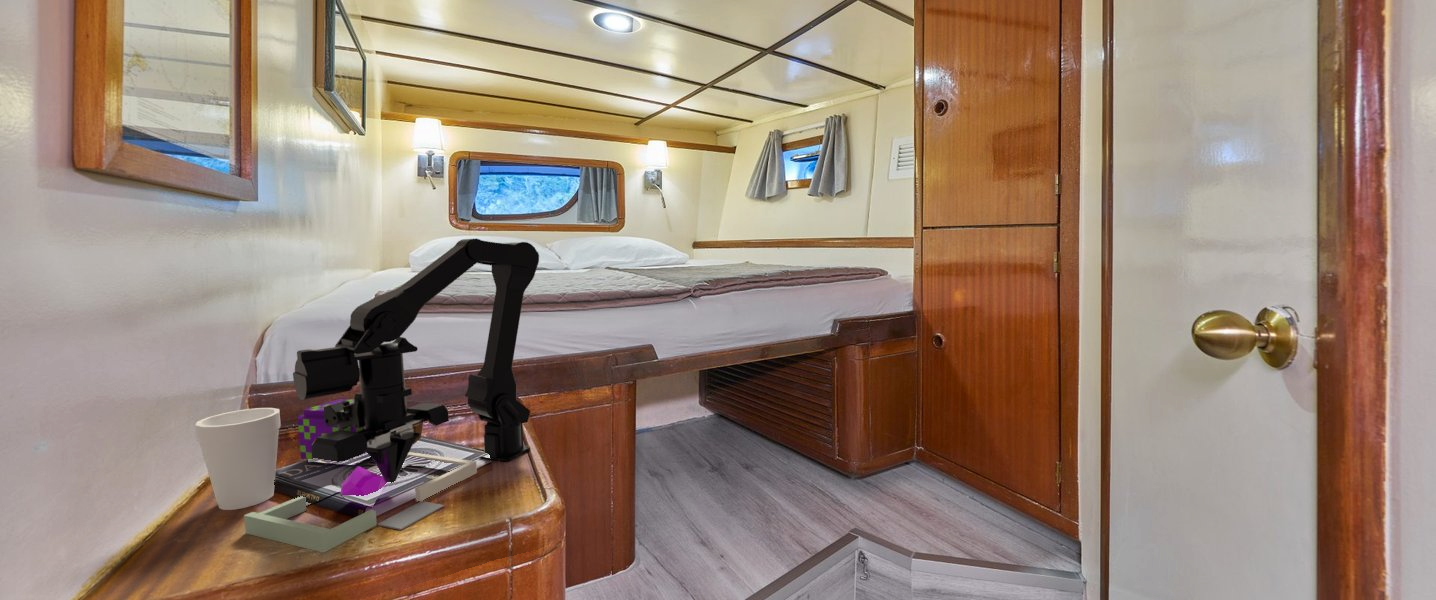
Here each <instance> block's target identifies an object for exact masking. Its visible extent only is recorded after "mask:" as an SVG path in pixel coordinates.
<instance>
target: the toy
mask: <svg viewBox="0 0 1436 600" xmlns="http://www.w3.org/2000/svg"><path fill="white" fill-rule="evenodd" d="M339 402H341V403H342V404H343V405H344V406H348V405H351V404H354V398H353V399H349V398H347V399H346V398H338V399H335V400H332V401H329V402H326V403H322V404H319V405H316V406H312V407H308V408H305V409H303V414H301V415H299V416H298V415H297V416H298V418H297V429H298V443H299V453H300V459H301V460H302V459H303V460H308V459H313V458H312V448H311V446H312V444H313V442H314V440H315V439H316V438H317V437H320V436H323V435H326V434H329V433H332V432H335V431H338V430H340V429H339V426H338V425H335V426H332V427H328V426H327V425H326V423H325V420H324V407H326V406H328V405H331V404H335V403H339ZM423 427H424V422H421V423H419V424H416V425H413V431H414V433H420V437H419V438H417V439H416V440H415V442H414V443H413V445H415V444H416V443H418V441H419V440H420V439H421V438H422V433H423ZM343 430H346V431H353V432H359V431H361V430H364V427H360V428H355V427H353V425H352V426H349V427H347V428H346V429H343ZM381 431H382V430H381ZM376 432H379V431H376ZM365 452H366V451H364V453H365ZM358 456H359V455H358Z"/></svg>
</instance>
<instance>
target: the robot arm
mask: <svg viewBox="0 0 1436 600" xmlns="http://www.w3.org/2000/svg"><path fill="white" fill-rule="evenodd" d="M539 263H540V254H539V251H537V249H536V247H535V246H533V244H531V243H530V242H528V241H515V242H514V241H513V242H503V243H502V242H493V241H486V240H482V239H479V238H466V239H461V240H458V241H457V242H456V243H455V245H454V246H453V247H451V248H450V249H449V250H447V251H446V252H445V253H444V254H442V255H441V256H439V257H438V258H437V259H436V260H434V261H433V262H431V263H430V264H429V265H428V266H426V267H425V268H423V269H422V270H421V271H419V272H417V274H415V275H414V276H413V277H411V278H410V279H409V280H408V281H406V282H405V283H403V284H402V285H400V286H399V287H397V288H396V287H395V288H394V289H392V290H390V291H387V292H385V293H382V294H379V295H377V296H375V297H374V298H372V299H370V300H368V301H366V302H364V303H362V304H360V305H358V306H357V307H356V308H355V309H354V310H353V311H352V312H351V314H350V319H349V320H350V322H349V324H350V325H349V326H348V327H347V329H346V330H345V331H344V333H343V334H342V335H341V337H340V338H339V340H338V341H337V342H336V344H335V345H334V347H327V348H320V349H301V350H297V352H296V357H297V358H296V361H295V364H294V372H292V377H293V384H294V389H295V391H296V394H297V396H298V398H299V400H301V401H303V400H308V399H315V398H319V397H325V396H330V395H331V396H332V395H336V394H342V393H346V392H351V391H352V389H353V387H355V386H358V383H359V382H360V392H356V393H355V394H354V396H353V400H354V404H351V405H348V406H344V405H343V404H342V403H341V402H339V403H335V404H331V405H328V406H326V407H324V420H325V423H326V425H327V426H328V427H332V426H335V425H338V426H339V429H340V430H338V431H335V432H332V433H329V434H326V435H323V436H320V437H317V438H316V439H315V440H314V442H313V444H312V446H311V448H312V458H318V459H324V460H331V461H337V462H339V461H345V460H348V459H350V458H353V457H355V456H358V455H361V454H363V453H364V451H366V452H367V453H368V454H369V455H370V456H371V457H372V458H371V459H372V460H373V461H374V463H375V466H376V465H377V467H378V468H379V470H380V472H381V474H382V475H383V478H384V479H385V480H386V481H387V482H391V483H390V484H393V483H395V482H396V481H397V479H398V476H399V474H400V472H401V470H402V469H401V468H402V465H403V463H404V461H405V459H406V457H407V455H408V453H409V452H411V449H412V447H413V445H414V444H413V443H414V442H415V440H416V439H417V438H419V437H420V433H414V431H413V425H416V424H419V423H421V422H423V423H424V422H427V421H428V422H429V423H430V424H431V425H432V426H434V427H436V426H437V427H438V426H439V425H443V424H444V423H447V422H449V421H450V418H449V417H450V416H449V409H448V408H447V407H446V406H445V405H444V404H441V403H440V404H438V403H431V402H430V403H429V402H422V403H419V404H416V405H413V406H410V407H407V397H408V396H411V395H413V393H412V388H411V387H406V381H405V368H404V356H403V354H407V353H408V354H409V353H412V352H413V353H414V352H417V351H418V347H417V346H416V345H413V344H412V343H410V342H409V341H408V339H407V338H406V337H404V336H403V334H404V333H405V331H407V330H408V329H409V327H411V325H412V324H413V323H414V321H416V318H417V317H418V315H419V313H420V311H421V310H422V308H423V307H425V305H426V304H427V303H428V302H430V301H431V300H433V299H434V298H435V297H436V296H437V295H439V294H440V293H441V292H443V290H445V289H446V288H447V287H448V286H449V285H451V284H452V283H454V281H456V280H457V279H459V278H460V277H461V276H463V274H465V273H466V272H467V271H469V270H470V269H471V268H472V267H474V266H475V265H476V264H480V265H487V266H491V275H492V278H493V281H494V284H495V293H494V294H495V295H494V301H493V306H492V312H491V318H490V325H489V330H488V337H487V344H486V347H485V348H486V349H485V355H484V362H483V365H482V367H481V369H480V370H479V371H478V373H477V374H473V373H470V374H469V375H468V378H467V379H468V380H467V381H468V386H467V390H466V393H465V394H464V397H465V398H467V404H468V407H469V408H470V409H471V411H472V412H474V413H476V414H477V416H478V419H479V420H480V421H484V422H486V423H485V424H484V434H483V442H484V446H483V447H484V452H485V453H488V454H489V455H490V458H491V459H490V460H494V461H502V462H509V461H510V460H513V459H514V458H516V457H518V456H521V455H522V454H524V453H525V452H527V451H530V450H531V446H530V445H524V429H523V427H524V426H523V424H524V423H526V424H527V423H528V422H529V418H530V414H531V410H530V409H529V408H528V407H526V406H525V405H523V404H522V403H521V402H520V401H518V400H517V399H518V396H517V394H518V392H517V389H518V386H517V382H516V379H515V375H514V374H515V373H514V371H513V363H514V356H515V350H516V345H517V344H516V343H517V338H518V333H519V332H518V331H519V325H520V319H521V313H522V307H523V300H524V296H525V291H526V289H528V287H529V286H530V283H531V282H532V280H534V278H535V276H536V275H535V274H536V273H537V272H536V271H537V268H538V266H539ZM402 336H403V337H402ZM352 425H353V427H355V428H360V427H364V430H361V431H359V432H353V431H346V430H343V429H346V428H347V427H349V426H352ZM381 430H382V431H381ZM376 431H379V432H376ZM394 481H395V482H394ZM392 482H393V483H392Z"/></svg>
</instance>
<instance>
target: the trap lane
mask: <svg viewBox="0 0 1436 600" xmlns="http://www.w3.org/2000/svg"><path fill="white" fill-rule="evenodd" d="M407 456H414V457H420V458H425V459H430V460H435V461H440V462H444V463H455V464H461V465H462V466H460V467H458V468H456V469H454V470H452V471H450V472H448V471H447V472H446V473H443V474H441V475H439V476H438V477H434V479H431V480H429V481H427V482H425V483H423V484H421V485H419V486H416V487H415V488H414V493H415V501H416V500H417V501H416V502H418V501H420V502H421V501H423V500H424V499H426V498H428V497H430V496H432V495H434V494H436V493H437V494H439V493H441V492H442V491H441V490H443V491H445V490H447V489H449V488H451V487H452V486H451V485H453V486H455V485H457V484H458V482H459V483H460V481H461V482H462V481H464V480H466V479H468V478H470V477H472V476H475V475H476V474H477V473H478V469H477V468H478V467H477V461H475V460H469V459H462V458H456V457H455V458H454V457H447V456H441V455H435V454H434V455H433V454H427V453H419V452H412V451H409V453H408V455H407ZM376 468H378V467H377V465H376V464H375V465H374V466H371V467H370V468H367V469H366V468H365V469H366V470H368V471H370V470H373V469H376ZM456 483H457V484H456ZM454 484H455V485H454ZM450 486H451V487H450ZM448 487H449V488H448ZM446 488H447V489H446ZM444 489H445V490H444ZM440 491H441V492H440ZM438 492H439V493H438ZM437 494H436V495H437ZM299 496H300V497H299ZM299 496H297V498H296V497H294V498H295V499H294V498H292V500H291V499H289V500H290V501H289V500H287V502H286V501H284V502H285V503H284V502H282V503H283V504H282V503H280V504H278V505H276V506H273V507H270V508H268V509H266V510H263V511H261V512H260V511H259V512H254V511H251V512H249V513H246V514H244V515H243V519H244V530H245V534H247V535H251V536H256V537H259V538H263V539H267V540H271V541H276V542H279V543H284V544H288V545H292V546H295V547H300V548H304V549H308V550H311V551H315V552H320V553H326V552H327V551H330V550H331V549H333V548H335V547H338V546H339V545H341V544H343V543H345V542H347V541H350V540H351V539H353V538H354V537H356V536H359V535H360V534H363V533H364V532H366V531H367V530H368V531H369V530H370V529H372V528H374V527H376V526H378V523H377V522H378V521H377V512H376V510H374V509H373V510H372V509H370V510H368V511H366V512H364V513H362V514H359V515H357V516H355V517H353V518H351V519H348V520H347V521H345V522H343V523H340V524H338V525H335V526H334V527H332V528H326V527H322V526H317V525H313V524H309V523H304V522H301V521H300V522H299V521H295V520H291V519H290V518H291V517H294V516H296V515H299V514H301V513H304V512H306V511H307V507H306V497H303V496H301V495H299ZM434 496H435V495H434ZM432 497H433V496H432ZM430 498H431V497H430ZM428 499H429V498H428ZM426 500H427V499H426ZM424 501H425V500H424Z"/></svg>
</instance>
